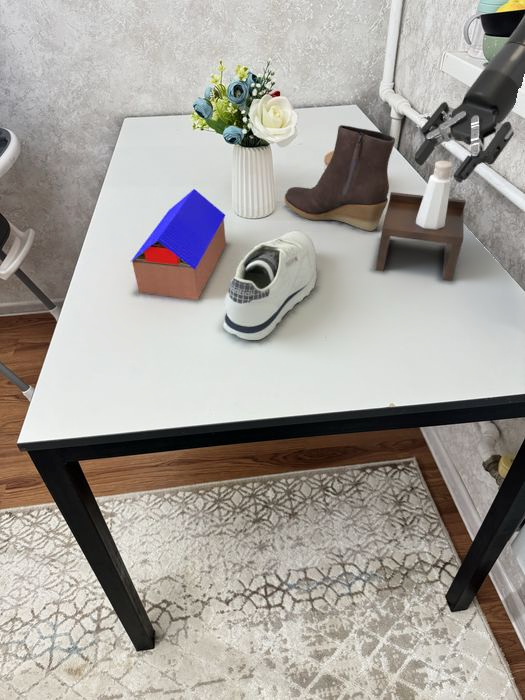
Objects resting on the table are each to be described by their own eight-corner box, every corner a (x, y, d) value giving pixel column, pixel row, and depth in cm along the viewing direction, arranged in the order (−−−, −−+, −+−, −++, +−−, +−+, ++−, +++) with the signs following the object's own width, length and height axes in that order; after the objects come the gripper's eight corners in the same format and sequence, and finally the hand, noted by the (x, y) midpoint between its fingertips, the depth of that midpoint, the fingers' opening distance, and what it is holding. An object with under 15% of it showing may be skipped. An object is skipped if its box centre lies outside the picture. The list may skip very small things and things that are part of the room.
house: (227, 244, 102) (223, 191, 95) (199, 300, 88) (191, 243, 80) (173, 239, 104) (165, 186, 96) (136, 293, 90) (123, 237, 82)
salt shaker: (437, 233, 87) (453, 172, 79) (409, 224, 89) (421, 164, 82) (450, 221, 90) (466, 161, 82) (422, 213, 92) (435, 154, 85)
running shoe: (329, 260, 97) (334, 206, 89) (277, 353, 78) (277, 293, 70) (277, 250, 100) (277, 196, 92) (214, 336, 81) (208, 277, 73)
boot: (295, 197, 118) (298, 108, 104) (390, 222, 108) (407, 127, 95) (276, 212, 113) (277, 120, 99) (375, 239, 103) (390, 142, 89)
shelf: (452, 248, 100) (465, 200, 93) (451, 281, 91) (465, 230, 84) (382, 239, 103) (390, 191, 96) (375, 270, 94) (383, 220, 87)
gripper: (459, 59, 80) (397, 145, 84) (537, 77, 72) (464, 173, 75) (472, 89, 86) (413, 169, 89) (545, 109, 77) (477, 197, 80)
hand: (436, 170), depth 82 cm, fingers open, 8 cm apart
